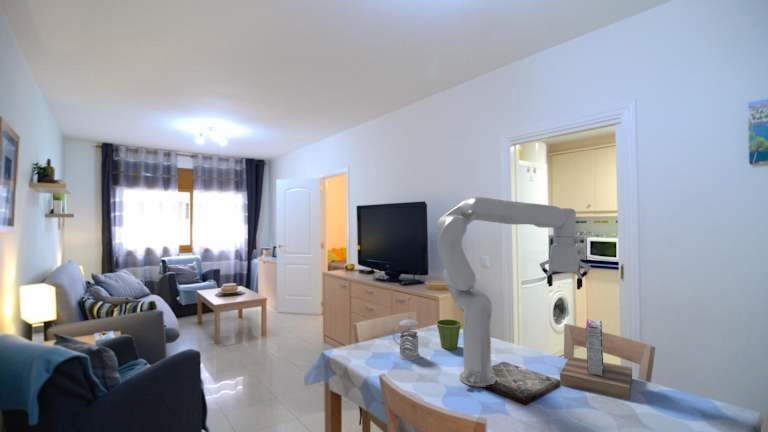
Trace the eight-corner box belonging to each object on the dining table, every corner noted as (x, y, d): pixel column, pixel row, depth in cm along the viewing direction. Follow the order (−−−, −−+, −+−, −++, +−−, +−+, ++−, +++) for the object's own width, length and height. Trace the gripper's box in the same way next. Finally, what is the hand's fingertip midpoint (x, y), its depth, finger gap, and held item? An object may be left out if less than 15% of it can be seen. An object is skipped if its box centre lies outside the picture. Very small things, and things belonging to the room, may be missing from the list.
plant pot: (431, 345, 171) (430, 321, 172) (452, 341, 176) (452, 318, 177) (445, 353, 161) (445, 327, 161) (468, 349, 166) (467, 323, 166)
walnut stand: (629, 400, 116) (629, 387, 116) (560, 384, 128) (560, 373, 128) (632, 378, 133) (631, 367, 133) (570, 366, 144) (570, 356, 144)
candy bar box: (587, 363, 137) (586, 318, 137) (603, 365, 134) (602, 320, 135) (586, 374, 127) (585, 325, 127) (603, 376, 124) (602, 327, 125)
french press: (421, 359, 153) (420, 299, 154) (393, 360, 153) (392, 299, 154) (419, 351, 163) (419, 294, 164) (393, 352, 163) (392, 294, 164)
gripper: (592, 242, 136) (592, 289, 135) (542, 240, 147) (542, 284, 146) (588, 242, 130) (588, 291, 130) (537, 240, 141) (537, 286, 140)
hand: (564, 287), depth 138 cm, fingers open, 9 cm apart
